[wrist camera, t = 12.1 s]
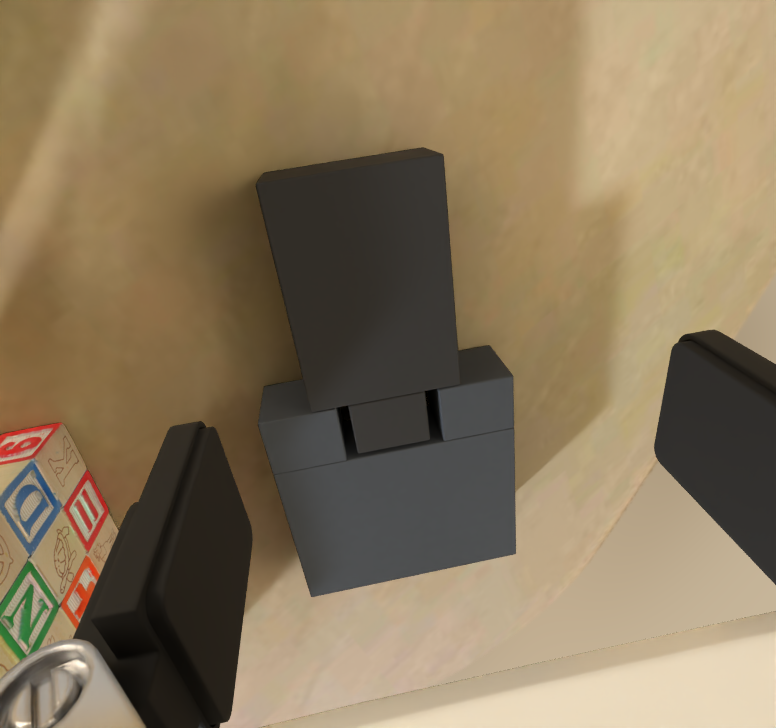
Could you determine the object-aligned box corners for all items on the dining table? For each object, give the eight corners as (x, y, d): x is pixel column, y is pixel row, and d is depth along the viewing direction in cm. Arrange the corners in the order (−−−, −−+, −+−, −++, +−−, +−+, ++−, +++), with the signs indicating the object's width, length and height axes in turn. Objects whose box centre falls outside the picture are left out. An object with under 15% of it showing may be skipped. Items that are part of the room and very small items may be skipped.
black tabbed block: (262, 172, 21) (254, 183, 18) (424, 147, 21) (443, 153, 18) (321, 421, 27) (323, 461, 24) (447, 397, 27) (464, 433, 24)
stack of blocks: (199, 669, 35) (149, 923, 24) (108, 690, 34) (16, 957, 24) (62, 418, 25) (-130, 659, 14) (-68, 443, 24) (-368, 710, 14)
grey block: (263, 386, 26) (257, 424, 22) (489, 344, 26) (513, 375, 23) (310, 549, 31) (311, 597, 28) (496, 511, 32) (516, 554, 29)
